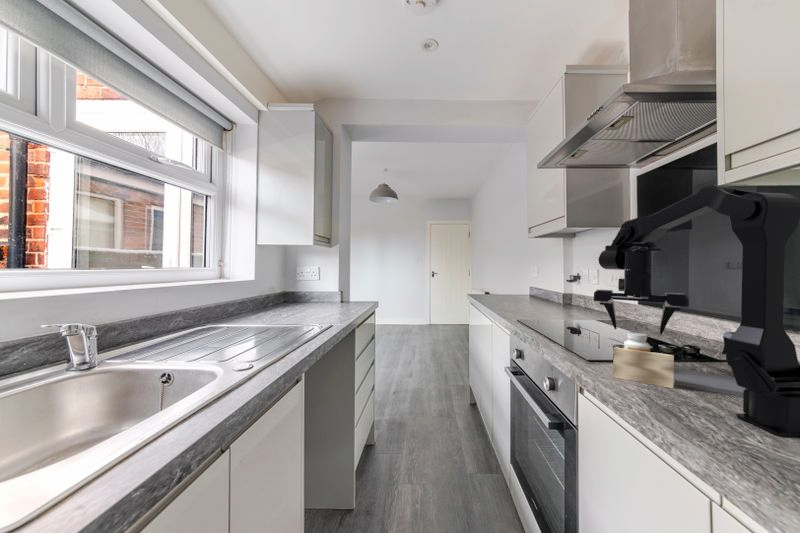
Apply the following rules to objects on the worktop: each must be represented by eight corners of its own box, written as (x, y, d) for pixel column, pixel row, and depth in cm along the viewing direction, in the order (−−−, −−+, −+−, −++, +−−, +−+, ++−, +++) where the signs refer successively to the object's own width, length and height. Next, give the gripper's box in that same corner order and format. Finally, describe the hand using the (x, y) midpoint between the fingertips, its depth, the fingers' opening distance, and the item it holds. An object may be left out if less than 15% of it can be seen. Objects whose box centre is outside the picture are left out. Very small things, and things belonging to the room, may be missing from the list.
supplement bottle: (655, 375, 77) (656, 336, 77) (633, 375, 78) (633, 335, 77) (639, 368, 83) (639, 331, 83) (618, 367, 83) (619, 331, 83)
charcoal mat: (737, 381, 74) (738, 377, 74) (753, 399, 64) (753, 394, 64) (670, 370, 81) (670, 366, 81) (675, 385, 71) (675, 380, 71)
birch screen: (672, 386, 70) (673, 355, 70) (673, 388, 69) (673, 356, 69) (613, 375, 77) (613, 347, 77) (613, 377, 76) (613, 348, 76)
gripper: (683, 270, 81) (682, 331, 81) (598, 269, 92) (597, 322, 92) (689, 270, 72) (688, 339, 72) (593, 269, 83) (593, 328, 83)
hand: (637, 331), depth 80 cm, fingers open, 9 cm apart
